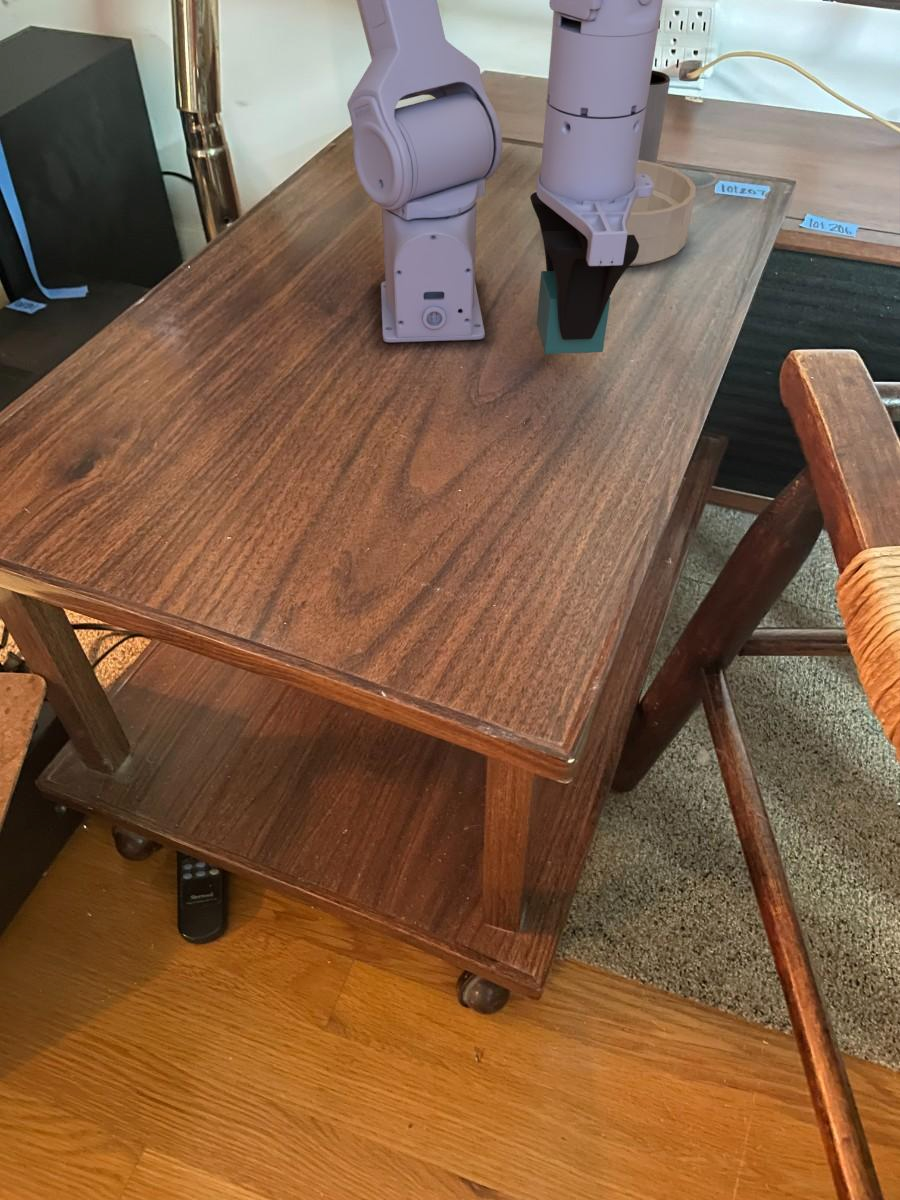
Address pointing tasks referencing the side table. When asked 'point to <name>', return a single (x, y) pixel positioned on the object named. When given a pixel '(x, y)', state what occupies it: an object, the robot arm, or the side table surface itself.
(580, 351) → the block
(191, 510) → the side table surface
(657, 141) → the grey cylindrical cup
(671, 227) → the bowl
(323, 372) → the side table surface
